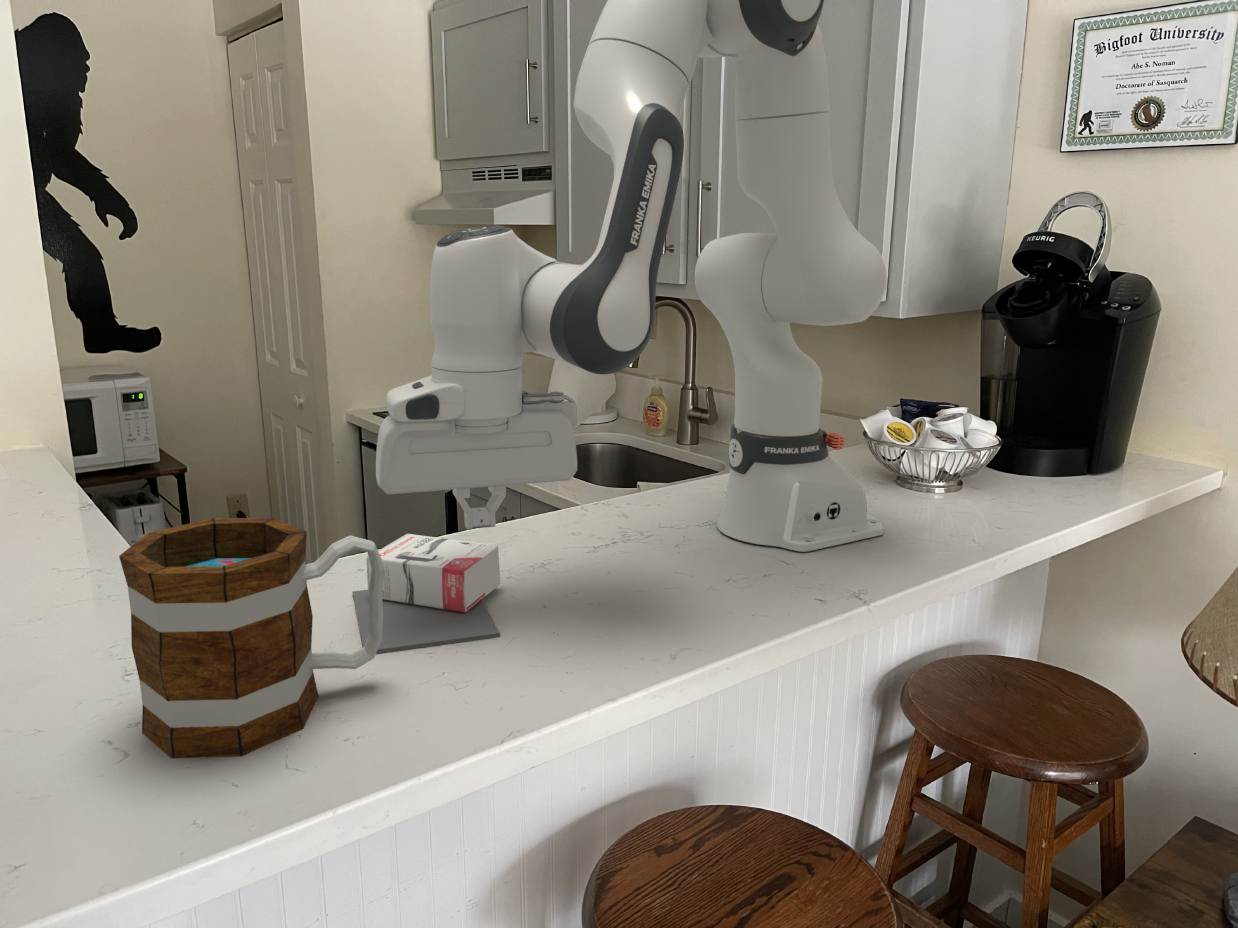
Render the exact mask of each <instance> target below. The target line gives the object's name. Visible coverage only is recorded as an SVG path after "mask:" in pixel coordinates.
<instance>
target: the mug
mask: <svg viewBox="0 0 1238 928" xmlns="http://www.w3.org/2000/svg"><path fill="white" fill-rule="evenodd" d="M307 536H308V535H307V531H306V530H303V529H301V528H299V527H297V526H294V525H292V524H290V523H288V522H285V521H282V520H279V519H277V518H275V517H243V518H242V517H241V518H240V517H236V518H235V517H233V518H232V517H229V518H228V517H227V518H225V517H224V518H222V517H217V518H215V517H214V518H207V519H203V520H199V521H194V522H191V523H186V524H181V525H177V526H172V527H168V528H164V529H161V530H160V529H159V530H156V531H152V532H147V534H145V535H144V536H143V537H141V538H140V539H139V540H138V541H136V542H135V543H133V544H132V545H130V546H129V547H128V548H127V549H126V550H125V551H124V552H122V553H121V554H119V555H118V557H119V561H120V565H121V567H122V572H123V575H124V579H125V582H126V586H127V592H128V600H129V607H130V624H131V625H130V627H131V628H130V629H131V630H130V632H131V634H130V635H131V650H132V654H133V659H134V662H135V667H136V671H137V675H138V680H139V686H140V697H141V702H142V703H141V704H142V714H141V715H142V719H141V722H142V723H141V725H142V726H141V734H142V735H143V736H145V737H146V738H147V739H148V740H149V741H150V742H152V743H153V745H155V746H157V748H159V750H161V751H162V752H163V753H164V754H166V756H168V757H169V758H170V759H194V758H195V759H196V758H200V759H201V758H230V757H231V758H233V757H243V756H246V755H248V754H251V753H252V752H253V753H254V752H255V751H257V750H259V749H261V748H263V747H266V746H268V745H271V744H272V743H275V742H278V741H280V740H282V739H284V738H287V737H289V736H291V735H292V734H295V733H297V732H298V733H299V732H300V731H303V729H304V728H305V726H306V724H307V722H308V720H309V718H310V716H311V714H312V712H313V710H314V708H315V705H316V703H317V701H318V699H319V697H320V696H319V693H318V692H319V691H318V688H317V682H316V678H315V673H314V670H325V669H327V670H329V669H340V670H341V669H344V670H345V669H346V670H357V669H358V668H360V667H362V666H364V665H365V664H367V663H369V662H370V661H372V660H374V659H375V657H376V655H377V654H376V652H377V650H378V648H379V646H380V643H381V641H382V634H383V602H382V593H383V579H384V563H383V561H382V559H381V556H380V554H379V552H378V551H379V550H378V548H377V546H376V543H375V542H374V541H372V540H370V539H366V538H361V537H358V536H354V535H348V536H345V537H344V538H341V539H339V540H337V541H335V542H333V543H331V544H330V545H329V546H328V547H327V548H326V549H325V551H323V553H322V554H321V555H320V556H319V557H318V558H317V559H316V560H315V561H314V562H310V563H307V564H306V551H307ZM354 549H355V550H358V551H362V552H365V553H367V557H369V561H370V564H371V577H370V586H369V616H370V632H369V635H368V638H367V641H366V643H365V646H364V647H363V646H362V647H361V648H359V649H358V650H356V651H354V652H353V653H345V652H344V653H343V652H335V651H332V652H331V651H327V652H325V651H324V652H312V638H313V618H314V617H313V612H312V611H313V610H312V605H311V600H310V594H309V590H308V582H307V581H309V580H313V579H317V578H320V577H323V575H325V574H327V573H328V571H330V570H331V568H332V567H333V566H334V565H335V564H336V563H337V561H338V560H339V559H340V557H342V556H344V555H346V554H348V553H349V552H352V551H353V550H354Z"/></svg>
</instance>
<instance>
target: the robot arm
mask: <svg viewBox="0 0 1238 928" xmlns="http://www.w3.org/2000/svg"><path fill="white" fill-rule="evenodd" d="M824 3H825V0H607V1H606V3H605V5H604V7H603V9H602V11H601V13H600V15H599V18H598V20H597V22H596V25H595V27H594V30H593V31H592V32H593V33H592V34H591V36H590V40H589V42H588V45H587V48H586V51H585V54H584V56H583V59H582V62H581V66H580V67H579V68H580V69H579V70H578V71H579V72H578V75H577V78H576V83H575V88H574V89H575V91H574V98H573V109H574V113H575V116H576V120H577V121H578V124H579V125H580V128H581V129H582V131H583V133H584V134H585V136H586V137H587V138H588V139H589V140H590V142H591V143H592V144H594V145H595V146H596V147H597V148H599V149H600V150H601V151H603V152H604V153H605V154H607V155H609V157H610V158H611V161H612V165H613V181H612V185H611V189H610V193H609V197H608V200H607V201H608V202H607V206H606V211H605V214H604V217H603V221H602V226H601V231H600V233H599V234H600V235H599V237H598V242H597V245H596V249H595V250H594V252H593V254H591V256H590V258H588V260H586V261H585V262H584V263H582V264H574V263H573V264H572V263H569V262H561V261H557V259H556V258H554V257H551V256H548V255H546V254H545V253H542V252H540V251H538V250H536V249H535V248H534V247H532V246H530V245H528V244H527V243H526V242H525V241H524V240H522V239H521V238H519V237H518V236H517V234H516V233H515V231H513V229H511V228H510V227H506V226H505V225H485V226H475V227H467V228H463V229H458V230H455V231H451V232H449V233H447V234H445V235H443V236H442V237H441V238H440V239H439V240H438V241H437V242H436V244H435V247H434V250H433V253H432V259H431V266H430V278H429V279H430V280H429V322H430V326H431V328H432V331H433V334H434V335H433V336H434V350H433V355H432V358H431V364H430V365H431V375H429V376H426V377H423V378H421V379H420V378H419V379H418V380H414V381H412V382H408V383H406V384H403V385H400V386H397V387H394V388H391V389H390V390H388V392H387V393H386V396H385V405H386V410H387V412H388V414H389V415H388V416H386V417H385V418H384V420H383V421H382V422H381V424H380V426H379V430H378V435H377V441H376V443H377V444H376V450H375V451H376V453H375V478H376V479H375V480H376V483H377V486H378V487H379V488H380V489H381V490H382V491H383V492H384V493H385V494H386V495H397V494H398V495H399V494H408V493H409V494H410V493H411V494H412V493H422V492H423V493H425V492H435V491H436V492H437V491H450V490H452V494H453V496H454V497H455V499H456V500H457V502H458V504H459V506H460V507H461V508H462V510H463V515H464V518H463V519H464V527H465V528H466V530H472V529H473V530H474V529H487V528H495V527H496V512H497V511H498V510H499V508H500V506H501V504H502V503H503V501H504V499H505V497H506V496H507V486H513V485H515V486H517V485H527V484H539V483H540V484H541V483H553V482H564V481H565V482H566V481H571V480H572V479H573V477H574V476H575V474H576V473H577V472H578V454H577V453H578V452H577V444H576V438H575V432H574V431H575V429H576V427H577V424H578V406H577V403H576V401H575V400H574V399H573V398H572V397H571V396H569V395H566V394H565V393H564V392H562V391H555V390H554V391H550V392H538V391H537V392H536V391H535V392H534V391H533V392H532V391H531V392H527V391H526V392H523V357H524V355H525V354H527V353H529V352H531V353H533V354H538V355H542V356H545V358H550V359H554V360H558V361H561V362H566V363H569V364H571V365H572V366H575V367H577V368H579V369H582V370H584V371H586V372H589V373H592V374H596V375H612V374H615V373H617V372H620V371H622V370H624V369H626V368H627V367H629V366H630V365H632V364H633V363H634V362H635V361H636V360H637V359H638V358H639V357H640V356H641V355H642V353H643V351H644V350H645V349H646V347H647V345H648V343H649V341H650V339H651V336H652V333H653V331H654V330H653V329H654V325H655V318H656V317H655V315H656V300H657V299H656V297H657V296H656V294H657V283H658V282H657V280H658V274H659V269H660V263H661V260H662V254H663V250H664V246H665V241H666V238H667V233H668V228H669V225H670V221H671V220H670V219H671V217H672V212H673V208H674V203H675V199H676V195H677V191H678V186H679V182H680V181H679V180H680V176H681V172H682V166H683V161H684V160H683V159H684V151H685V135H684V131H683V127H682V124H681V118H682V111H683V108H684V103H685V100H686V97H687V94H688V90H689V88H690V86H691V85H690V84H691V81H692V79H693V76H694V72H695V68H696V65H697V61H698V59H700V58H701V59H712V58H715V59H717V58H728V57H729V58H730V60H731V63H732V65H733V67H734V70H735V72H736V75H735V88H734V89H735V92H734V93H735V96H734V99H735V100H734V108H735V109H734V114H735V116H734V118H735V144H736V162H737V163H736V166H737V167H736V169H737V180H738V184H739V186H740V188H741V190H742V192H743V193H744V195H746V197H748V198H749V199H751V200H752V201H753V202H755V203H757V204H758V205H760V206H761V207H762V208H763V209H764V210H765V212H766V213H767V215H768V216H769V217H770V219H771V221H772V224H773V226H774V228H775V229H774V230H775V233H770V232H769V233H767V232H766V233H765V232H742V233H741V232H740V233H737V234H732V235H731V234H730V235H726V236H723V237H718V238H714V239H713V240H711V241H709V242H707V244H706V245H705V246H704V248H703V249H702V250H701V251H700V254H698V255H699V256H698V258H697V261H696V264H695V267H694V278H693V279H694V286H695V291H696V294H697V295H698V297H699V299H700V301H701V303H702V304H703V305H704V307H706V308H707V309H708V310H709V311H710V312H711V314H712V315H713V316H714V317H715V318H716V320H717V321H718V323H719V325H720V327H721V329H722V331H723V332H724V334H725V338H726V339H727V341H728V345H729V348H730V352H731V355H732V356H731V357H732V360H733V367H734V384H735V385H734V386H735V387H734V388H735V390H734V421H733V422H734V423H733V424H731V427H730V435H729V447H728V461H729V462H728V464H729V465H728V466H729V475H728V482H727V487H726V492H725V497H724V500H723V504H722V507H721V511H720V514H719V516H718V519H717V521H716V528H717V529H718V530H719V531H720V532H721V533H722V534H724V535H726V536H728V537H730V538H733V539H735V540H737V541H742V542H746V543H749V544H755V545H760V546H761V545H762V546H769V547H778V548H782V549H787V550H791V551H795V552H800V553H801V552H802V553H803V552H811V551H816V550H820V549H825V548H830V547H834V546H838V545H839V546H840V545H843V544H847V543H853V542H857V541H860V540H865V539H869V538H875V537H879V536H882V535H884V526H883V524H882V523H881V521H880V520H879V519H877V517H875V516H873V515H872V514H870V513H868V503H867V494H866V491H865V489H864V486H863V484H862V483H861V482H860V481H858V479H857V478H855V477H854V476H853V475H852V474H850V473H849V472H848V471H847V470H846V469H845V468H844V467H842V466H841V465H840V464H838V462H836V461H835V459H833V458H831V457H830V456H829V455H830V453H829V450H828V447H829V448H831V449H833V450H835V451H840V450H842V449H843V448H844V446H845V445H846V444H845V443H846V441H845V440H846V438H844V436H843V435H841V434H837V433H836V432H833V431H832V432H829V433H828V432H826V431H824V430H823V429H821V427H820V415H821V404H822V393H823V392H822V390H823V375H822V371H821V368H820V366H819V365H818V364H817V363H816V361H815V360H814V359H813V358H812V357H810V356H809V355H808V354H806V353H805V352H804V351H802V350H801V348H799V346H798V344H797V343H796V341H795V339H794V337H793V333H792V329H791V324H797V325H798V324H799V325H809V326H810V325H812V326H822V327H829V326H830V327H832V326H843V325H849V324H856V323H857V324H858V323H862V322H864V321H866V320H867V319H868V318H869V317H870V316H872V315H873V313H875V311H876V309H878V307H879V306H880V304H881V303H882V299H883V297H884V294H885V292H886V288H887V269H886V265H885V261H884V259H883V257H882V255H881V253H880V251H879V250H878V249H877V247H876V246H875V245H874V244H873V243H871V242H870V241H869V240H867V238H865V237H864V236H863V235H862V234H861V232H860V231H859V230H857V228H856V227H855V226H854V224H853V223H852V222H851V220H850V218H849V216H848V214H846V211H845V210H844V207H843V205H842V203H841V201H840V197H839V195H838V192H837V188H836V185H835V182H834V181H835V180H834V175H833V163H832V149H831V148H832V146H831V118H830V117H831V114H830V113H831V112H830V110H831V104H830V98H831V97H830V82H829V80H830V79H829V72H828V64H827V57H826V51H825V45H824V41H823V34H822V32H821V29H820V26H819V25H818V24H819V23H818V22H819V21H820V19H821V18H820V17H821V15H822V11H823V9H824ZM790 323H791V324H790ZM565 400H567V401H565ZM486 487H488V491H489V492H490V494H491V495H490V498H489V499H488V501H487V503H486V505H485V506H483V507H473V508H471V507H470V505H469V503H468V502H467V500H466V499H470V498H471V489H475V488H476V489H477V488H486Z"/></svg>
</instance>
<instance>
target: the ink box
mask: <svg viewBox="0 0 1238 928" xmlns="http://www.w3.org/2000/svg"><path fill="white" fill-rule="evenodd" d="M378 552H379V554H380V556H381V559H382V561H383V563H384V579H383V593H382V599H383V600H389V601H395V602H402V603H408V604H415V605H421V606H427V607H433V608H439V609H447V610H452V611H458V612H465V613H466V612H467V611H468V610H470V609H471V608H472V607H473V606H474V605H476V604H477V603H478V602H479V601H480V600H483V599H484V598H485V597H487V596H488V595H489V594H490V593H491V592H493V591H494V590H495V589H496V588H497V587H499V586H500V585H501V572H500V558H499V557H500V556H499V554H500V552H499V545H497V544H493V543H483V542H476V541H470V540H469V541H467V540H460V539H453V538H451V539H450V538H443V537H435V536H427V535H422V534H421V535H419V534H413V533H412V534H411V533H406V534H404V535H403V536H400V537H399V538H398V539H395V540H393V542H390V543H389V544H386V546H384V547H382V548H381V549H379V550H378ZM370 577H371V564H370V561H369V557H368V556H367V557H366V578H367V581H366V582H367V590H368V596H369V586H370Z"/></svg>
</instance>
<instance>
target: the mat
mask: <svg viewBox="0 0 1238 928" xmlns="http://www.w3.org/2000/svg"><path fill="white" fill-rule="evenodd" d="M352 597H353V603H354V607H355V613H356V617H357V618H356V619H357V624H358V629H359V634H360V639H361V644H362V648H363V647H364V646H365V643H366V641H367V638H368V635H369V632H370V616H369V596H368V589H362V590H354V591H352ZM382 602H383V634H382V641H381V643H380V646H379V648H378V650H377V652H376V655H377V654H382V653H383V654H384V653H391V652H398V651H405V650H412V649H421V648H426V647H428V648H429V647H434V646H440V645H441V646H442V645H448V644H456V643H463V642H471V641H478V640H484V639H493V638H500V637H501V632H500V631H499V630H500V629H498V627H497V624H496V623H495V621H494V619H493V618H492V615H491V614H490V611H489V609H488V608H487V606H486V603H485V602H484V601H483V599H482V600H480V601H479V602H478V603H477V604H476V605H474V606H473V607H472V608H471V609H470V610H468V611H467V612H466V613H465V612H458V611H452V610H447V609H439V608H433V607H427V606H421V605H415V604H408V603H402V602H395V601H389V600H383V599H382Z"/></svg>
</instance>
